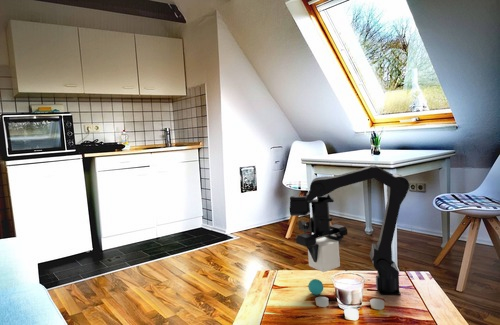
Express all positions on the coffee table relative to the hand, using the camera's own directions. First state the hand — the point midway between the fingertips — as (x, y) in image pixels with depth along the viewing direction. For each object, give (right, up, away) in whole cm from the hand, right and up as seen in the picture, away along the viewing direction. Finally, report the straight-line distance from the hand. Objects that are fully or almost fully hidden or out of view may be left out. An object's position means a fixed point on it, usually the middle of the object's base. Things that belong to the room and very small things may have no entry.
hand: (323, 258), depth 126 cm
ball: (-3, -9, -3) cm, 10 cm away
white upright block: (0, -3, 0) cm, 2 cm away
